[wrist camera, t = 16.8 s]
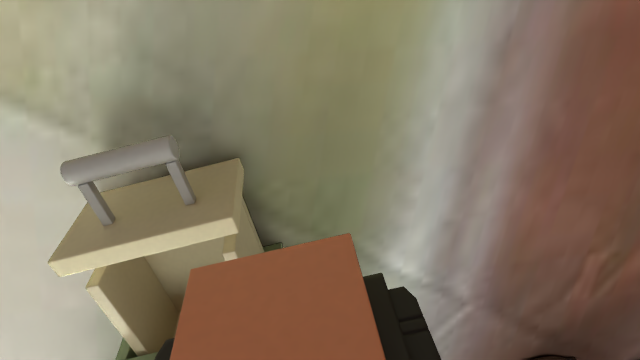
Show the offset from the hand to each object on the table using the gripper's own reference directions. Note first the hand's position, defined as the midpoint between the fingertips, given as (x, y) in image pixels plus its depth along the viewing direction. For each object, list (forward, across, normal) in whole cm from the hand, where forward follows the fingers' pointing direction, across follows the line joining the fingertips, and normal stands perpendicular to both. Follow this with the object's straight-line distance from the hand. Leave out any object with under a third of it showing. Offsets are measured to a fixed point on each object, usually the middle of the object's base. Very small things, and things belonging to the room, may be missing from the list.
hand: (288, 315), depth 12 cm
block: (0, 0, 0) cm, 0 cm away
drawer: (+16, +8, +7) cm, 19 cm away
